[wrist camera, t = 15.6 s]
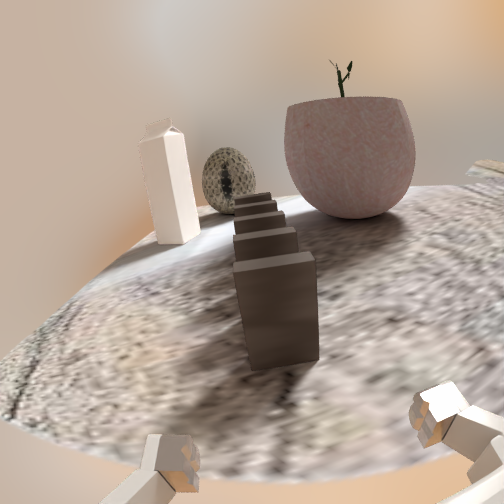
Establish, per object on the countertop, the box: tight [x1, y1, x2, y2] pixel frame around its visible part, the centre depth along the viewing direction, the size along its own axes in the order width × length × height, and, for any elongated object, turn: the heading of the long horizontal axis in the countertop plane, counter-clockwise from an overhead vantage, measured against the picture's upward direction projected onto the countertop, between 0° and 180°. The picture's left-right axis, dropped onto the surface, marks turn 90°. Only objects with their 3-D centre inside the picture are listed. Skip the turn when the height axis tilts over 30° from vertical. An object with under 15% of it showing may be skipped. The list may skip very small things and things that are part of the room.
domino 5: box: [233, 251, 319, 371], centre depth 20 cm, size 5×2×8 cm, turn 93°
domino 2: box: [234, 200, 278, 217], centre depth 37 cm, size 5×2×8 cm, turn 93°
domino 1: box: [234, 192, 272, 206], centre depth 43 cm, size 5×2×8 cm, turn 93°
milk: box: [138, 118, 201, 244], centre depth 52 cm, size 6×6×22 cm
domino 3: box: [234, 211, 286, 235], centre depth 32 cm, size 5×2×8 cm, turn 93°
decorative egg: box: [202, 147, 255, 214], centre depth 66 cm, size 12×12×15 cm
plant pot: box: [284, 61, 416, 219], centre depth 49 cm, size 24×24×30 cm
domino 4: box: [233, 226, 298, 262], centre depth 26 cm, size 5×2×8 cm, turn 93°
